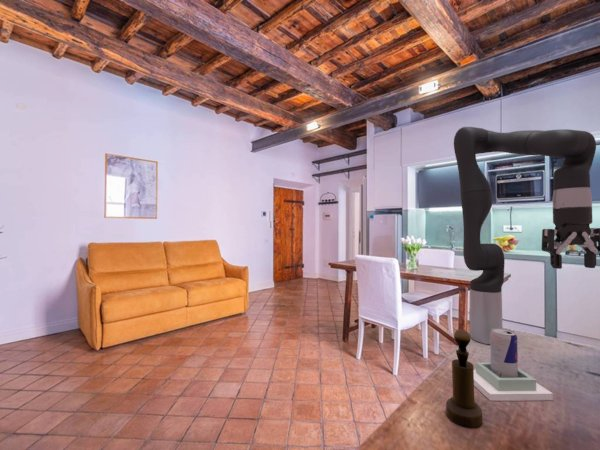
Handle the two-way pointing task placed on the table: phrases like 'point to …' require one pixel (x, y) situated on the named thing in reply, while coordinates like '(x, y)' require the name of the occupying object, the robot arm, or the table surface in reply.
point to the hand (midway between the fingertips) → (573, 268)
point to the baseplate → (508, 385)
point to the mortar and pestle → (463, 387)
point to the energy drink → (504, 353)
